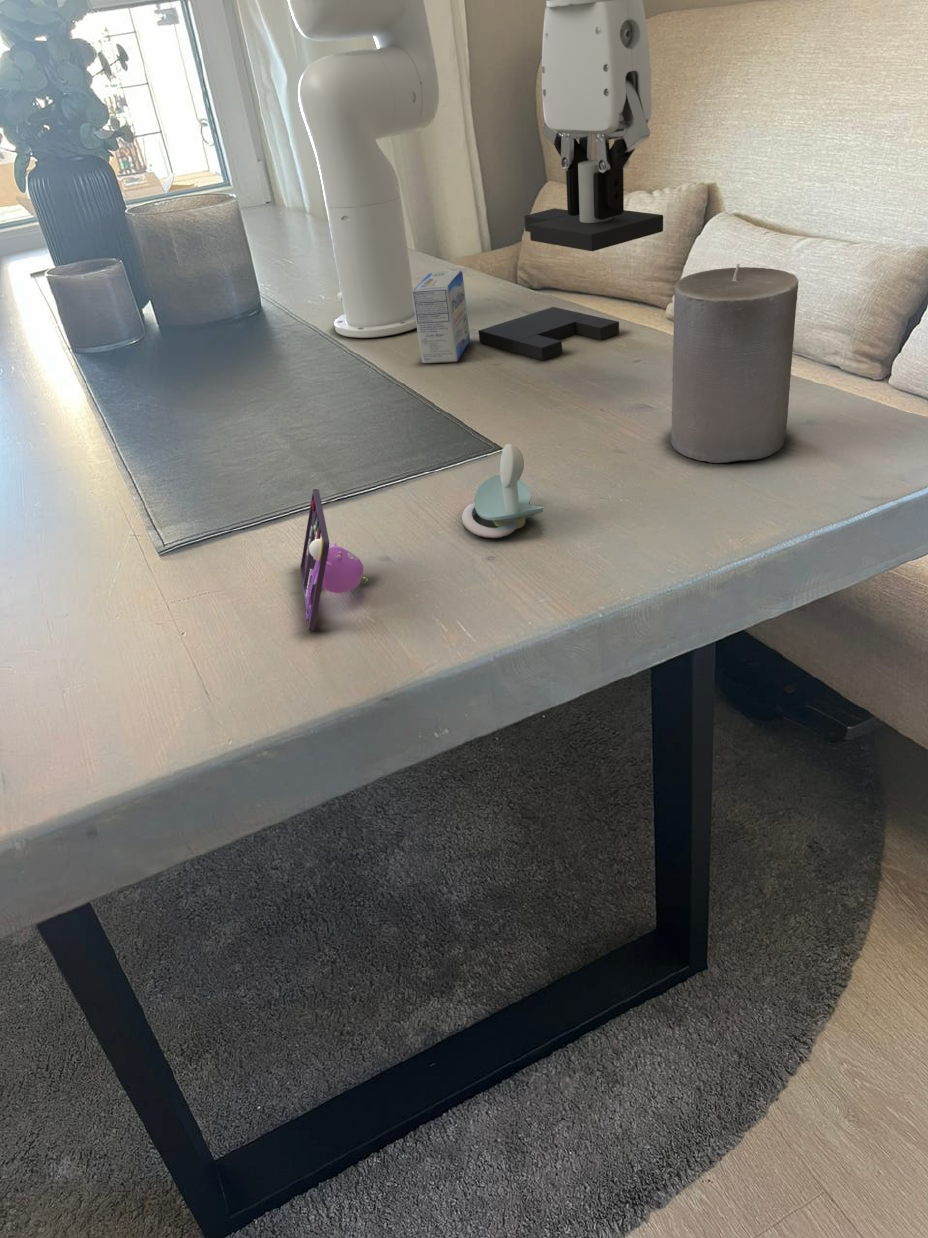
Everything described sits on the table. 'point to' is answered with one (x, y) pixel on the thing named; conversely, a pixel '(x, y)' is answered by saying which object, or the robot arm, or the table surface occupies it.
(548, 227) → the small pad
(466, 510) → the pacifier
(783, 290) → the pillar candle
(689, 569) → the table surface
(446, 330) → the medicine box
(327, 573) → the purple panel with bulb
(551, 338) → the big pad
